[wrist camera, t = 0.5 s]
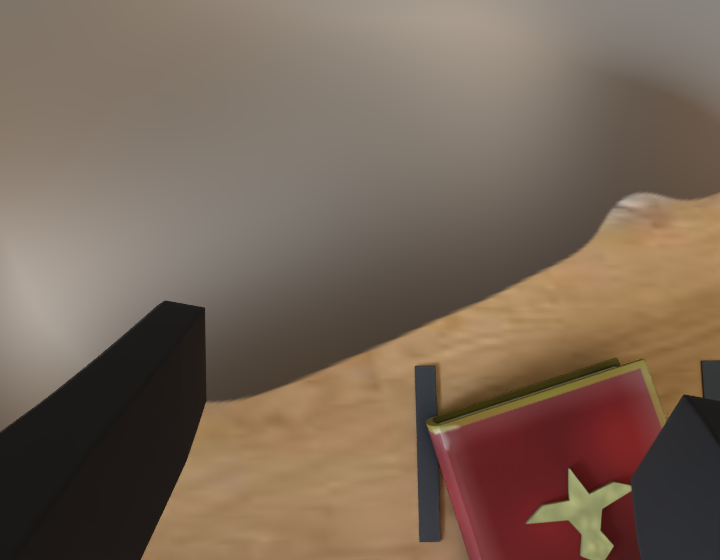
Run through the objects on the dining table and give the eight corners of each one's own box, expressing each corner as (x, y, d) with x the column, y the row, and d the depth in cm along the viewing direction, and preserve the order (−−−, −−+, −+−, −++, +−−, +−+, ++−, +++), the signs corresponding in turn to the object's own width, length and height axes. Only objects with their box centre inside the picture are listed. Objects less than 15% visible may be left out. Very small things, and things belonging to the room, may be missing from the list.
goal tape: (734, 534, 38) (735, 535, 38) (419, 541, 38) (419, 541, 37) (721, 360, 39) (721, 360, 39) (414, 366, 39) (415, 366, 38)
